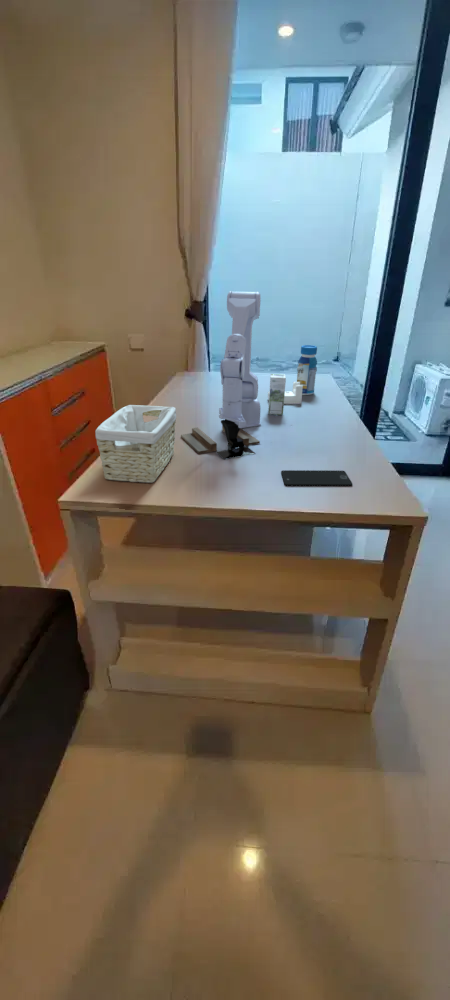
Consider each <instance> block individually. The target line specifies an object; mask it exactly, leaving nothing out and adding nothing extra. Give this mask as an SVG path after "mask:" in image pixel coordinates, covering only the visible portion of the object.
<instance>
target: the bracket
mask: <svg viewBox="0 0 450 1000" xmlns="http://www.w3.org/2000/svg"><path fill="white" fill-rule="evenodd" d="M302 389H303V386H300V382H297V381H293V382H292V391H291V390H290V391H286V390H285V395H284V404H285V405H294V404H295V405H296V404H297V405H302V397H303V395H302ZM267 399H268V400H269V391H268V392H267Z"/></svg>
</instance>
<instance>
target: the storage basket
mask: <svg viewBox="0 0 450 1000" xmlns="http://www.w3.org/2000/svg"><path fill="white" fill-rule="evenodd" d="M176 409H177V408H176V407H174V406H161V405H160V406H159V405H142V404H141V405H139V404H137V405H136V404H128V405H126V406H124V407H121V408H120V409H119V410H117V411H116V412H114V413H113V414H112V415H111V416H110V417H108V418H107V419H105V420H104V421H103V422H102V423H100V425H98V427H97V428H96V429H95V433H94V434H95V439H96V445H97V446H98V447H97V448H98V451H99V455H100V461H101V467H102V470H103V478H105V479H106V480H110V481H117V482H118V481H120V482H132V483H138V482H139V483H149V484H150V483H154V482H155V481H156V480H157V478H158V477H159V475H161V473H162V472H163V471H164V469H165V468H166V466H167V465H168V463H169V462H170V461H171V458H172V457H173V456H174V453H175V439H176V438H175V437H176V436H175V435H176V433H175V431H176V423H177V422H176V421H177V411H176ZM144 416H146V417H148V416H151V417H157V418H156V419H152V420H149V421H144Z"/></svg>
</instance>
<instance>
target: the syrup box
mask: <svg viewBox="0 0 450 1000" xmlns="http://www.w3.org/2000/svg"><path fill="white" fill-rule="evenodd" d="M286 378H287V377H286V374H285V373H270V375H269V391H268V392H269V399H268V408H267V409H268V410H267V411H268V412H267V413H268V415H271V416H274V415H275V416H277V415H278V416H284V408H285V405H284V395H285V391H286V381H287V379H286Z"/></svg>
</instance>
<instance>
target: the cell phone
mask: <svg viewBox="0 0 450 1000" xmlns="http://www.w3.org/2000/svg"><path fill="white" fill-rule="evenodd" d="M280 474H281V478H282V481H283V486H285V487H353V482H352V481H351V478H350V476H349V475H348V474H347V472H346V470H322V469H321V470H314V469H313V470H308V469H307V470H300V469H299V470H298V469H297V470H292V469H291V470H281V471H280Z"/></svg>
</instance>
